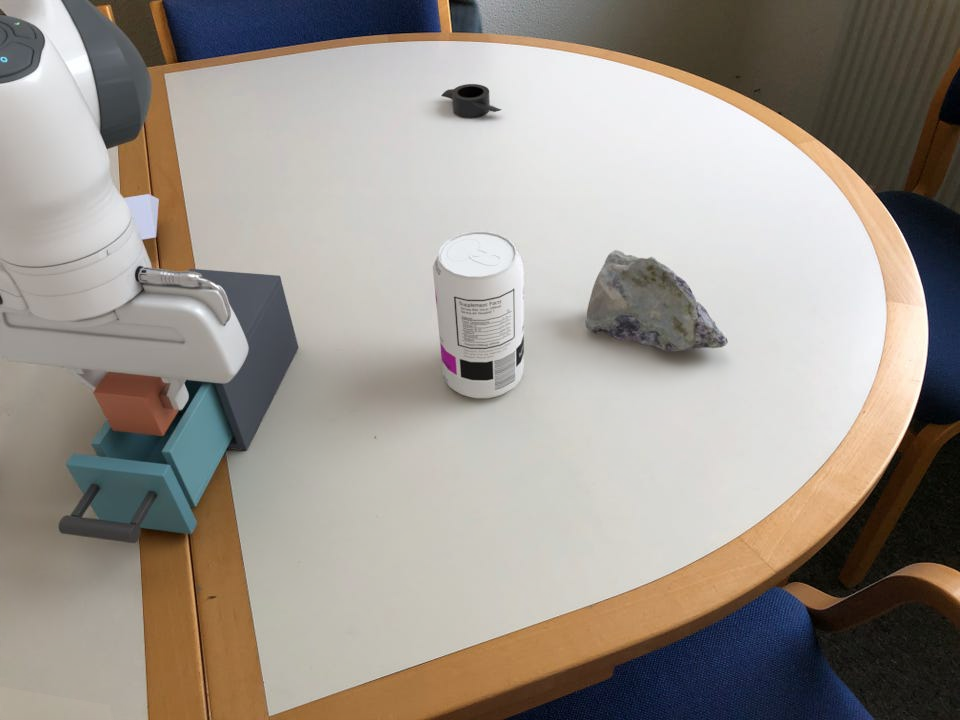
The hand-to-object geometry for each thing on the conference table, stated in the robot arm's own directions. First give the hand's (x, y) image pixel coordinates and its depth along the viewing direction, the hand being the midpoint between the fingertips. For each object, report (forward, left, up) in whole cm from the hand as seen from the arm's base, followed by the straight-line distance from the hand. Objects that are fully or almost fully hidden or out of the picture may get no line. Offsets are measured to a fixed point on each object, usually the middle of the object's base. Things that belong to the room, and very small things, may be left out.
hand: (143, 400), depth 65 cm
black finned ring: (+40, +66, -10) cm, 78 cm away
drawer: (-1, -2, -9) cm, 9 cm away
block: (0, 0, -2) cm, 2 cm away
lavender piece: (-11, +40, -10) cm, 43 cm away
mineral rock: (+48, +8, -10) cm, 49 cm away
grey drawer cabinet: (+4, +10, -10) cm, 15 cm away
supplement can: (+30, +7, -10) cm, 32 cm away
